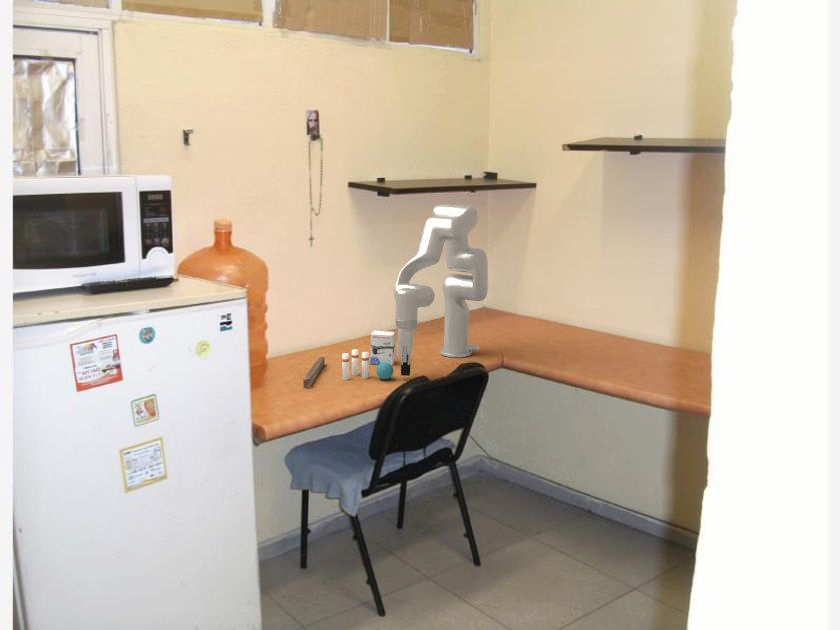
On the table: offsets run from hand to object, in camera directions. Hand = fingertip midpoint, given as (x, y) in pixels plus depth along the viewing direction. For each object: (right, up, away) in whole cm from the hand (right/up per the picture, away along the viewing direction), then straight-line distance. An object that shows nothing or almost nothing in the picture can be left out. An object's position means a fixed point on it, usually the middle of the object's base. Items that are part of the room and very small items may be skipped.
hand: (405, 374), depth 280 cm
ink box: (-9, +3, +20) cm, 22 cm away
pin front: (-14, -1, +1) cm, 14 cm away
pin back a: (-18, 0, +4) cm, 19 cm away
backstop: (-32, 0, +2) cm, 32 cm away
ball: (-7, +1, -1) cm, 7 cm away
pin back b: (-21, -1, -1) cm, 21 cm away
